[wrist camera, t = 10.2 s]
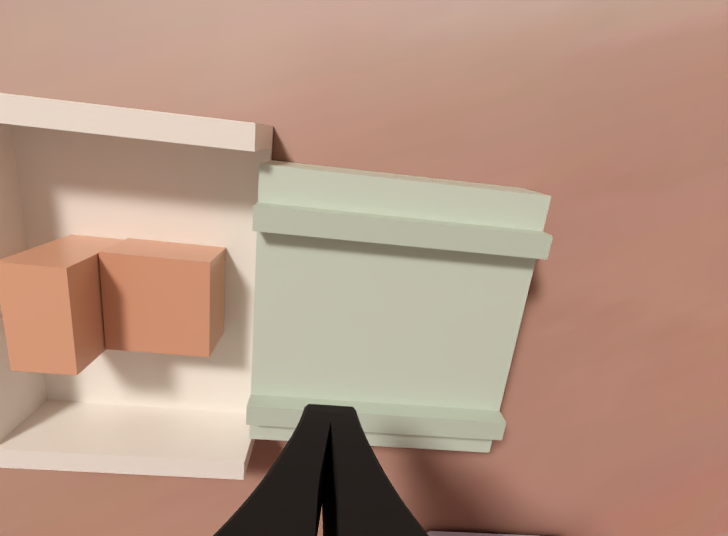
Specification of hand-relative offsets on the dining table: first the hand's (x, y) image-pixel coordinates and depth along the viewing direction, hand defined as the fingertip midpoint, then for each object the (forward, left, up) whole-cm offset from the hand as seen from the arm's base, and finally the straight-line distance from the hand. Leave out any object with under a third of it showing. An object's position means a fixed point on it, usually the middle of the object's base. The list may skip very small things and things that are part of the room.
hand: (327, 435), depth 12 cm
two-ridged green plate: (-2, 0, -10) cm, 11 cm away
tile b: (+10, 0, -8) cm, 13 cm away
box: (+10, 0, -10) cm, 14 cm away
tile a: (+8, 0, -10) cm, 13 cm away
